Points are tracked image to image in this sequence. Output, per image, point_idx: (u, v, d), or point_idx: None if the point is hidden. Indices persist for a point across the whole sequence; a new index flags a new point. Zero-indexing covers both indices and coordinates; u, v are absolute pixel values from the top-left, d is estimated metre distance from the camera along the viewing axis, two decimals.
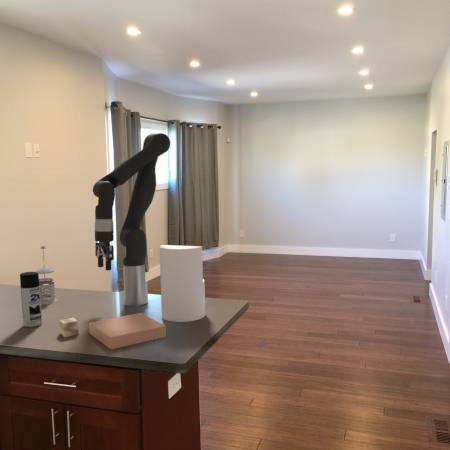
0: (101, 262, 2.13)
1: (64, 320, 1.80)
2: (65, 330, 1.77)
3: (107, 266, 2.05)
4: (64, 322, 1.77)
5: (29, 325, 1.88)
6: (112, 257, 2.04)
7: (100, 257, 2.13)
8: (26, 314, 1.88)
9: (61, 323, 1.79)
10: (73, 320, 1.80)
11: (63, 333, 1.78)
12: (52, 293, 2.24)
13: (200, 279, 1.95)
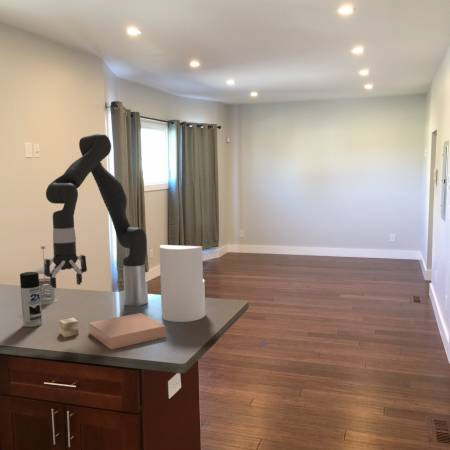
0: None
1: (64, 320, 1.80)
2: (65, 330, 1.77)
3: (80, 279, 1.80)
4: (64, 322, 1.77)
5: (29, 325, 1.88)
6: None
7: (54, 276, 1.75)
8: (26, 314, 1.88)
9: (61, 323, 1.79)
10: (73, 320, 1.80)
11: (63, 333, 1.78)
12: (52, 293, 2.24)
13: (200, 279, 1.95)
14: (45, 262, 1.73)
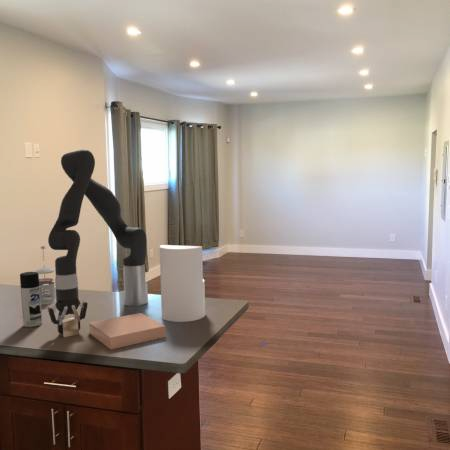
0: None
1: (64, 320, 1.80)
2: (65, 330, 1.77)
3: (79, 326, 1.81)
4: (64, 322, 1.77)
5: (29, 325, 1.88)
6: None
7: (61, 322, 1.78)
8: (26, 314, 1.88)
9: None
10: (73, 319, 1.80)
11: (63, 333, 1.78)
12: (52, 293, 2.24)
13: (200, 279, 1.95)
14: (49, 311, 1.75)
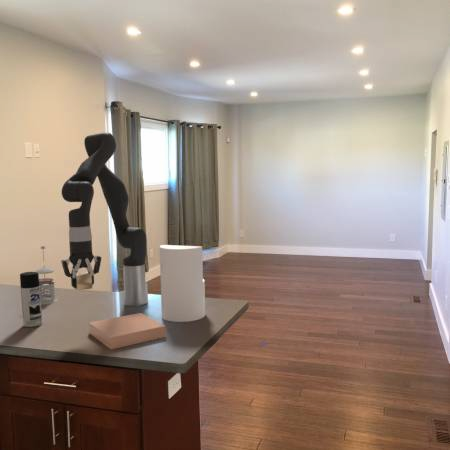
0: None
1: (78, 274, 1.78)
2: (79, 283, 1.74)
3: (93, 281, 1.79)
4: (78, 275, 1.75)
5: (29, 325, 1.88)
6: None
7: None
8: (26, 314, 1.88)
9: None
10: (86, 273, 1.78)
11: (77, 286, 1.75)
12: (52, 293, 2.24)
13: (200, 279, 1.95)
14: (62, 264, 1.73)
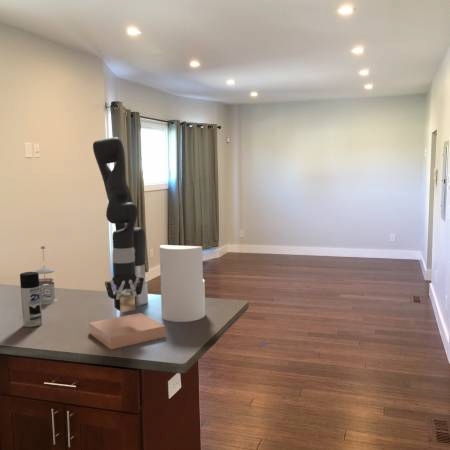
0: None
1: (120, 295, 1.76)
2: (122, 305, 1.73)
3: (135, 302, 1.78)
4: (121, 297, 1.73)
5: (29, 325, 1.88)
6: None
7: None
8: (26, 314, 1.88)
9: None
10: (129, 295, 1.76)
11: (120, 308, 1.74)
12: (52, 293, 2.24)
13: (200, 279, 1.95)
14: (106, 285, 1.72)
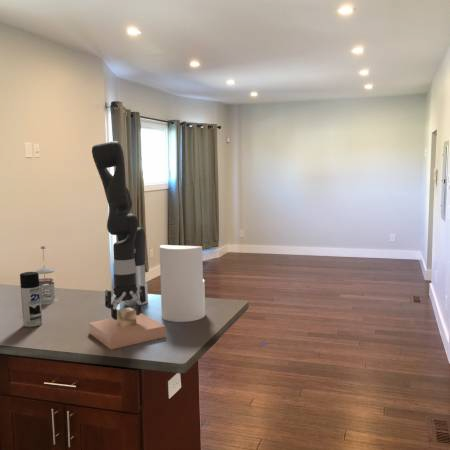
0: None
1: (122, 310, 1.77)
2: (124, 320, 1.74)
3: (140, 310, 1.79)
4: (123, 312, 1.74)
5: (29, 325, 1.88)
6: None
7: None
8: (26, 314, 1.88)
9: (119, 313, 1.76)
10: (130, 309, 1.77)
11: (121, 323, 1.75)
12: (52, 293, 2.24)
13: (200, 279, 1.95)
14: (106, 294, 1.72)
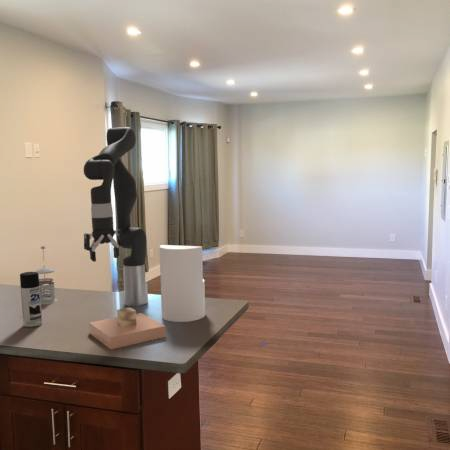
0: None
1: (122, 310, 1.77)
2: (124, 320, 1.74)
3: (118, 253, 1.87)
4: (123, 312, 1.74)
5: (29, 325, 1.88)
6: None
7: None
8: (26, 314, 1.88)
9: (119, 313, 1.76)
10: (130, 309, 1.77)
11: (121, 323, 1.75)
12: (52, 293, 2.24)
13: (200, 279, 1.95)
14: (85, 236, 1.80)
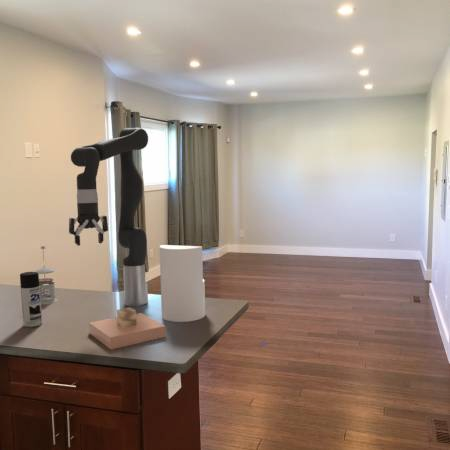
0: None
1: (122, 310, 1.77)
2: (124, 320, 1.74)
3: (102, 238, 1.93)
4: (123, 312, 1.74)
5: (29, 325, 1.88)
6: None
7: None
8: (26, 314, 1.88)
9: (119, 313, 1.76)
10: (130, 309, 1.77)
11: (121, 323, 1.75)
12: (52, 293, 2.24)
13: (200, 279, 1.95)
14: (70, 221, 1.86)
